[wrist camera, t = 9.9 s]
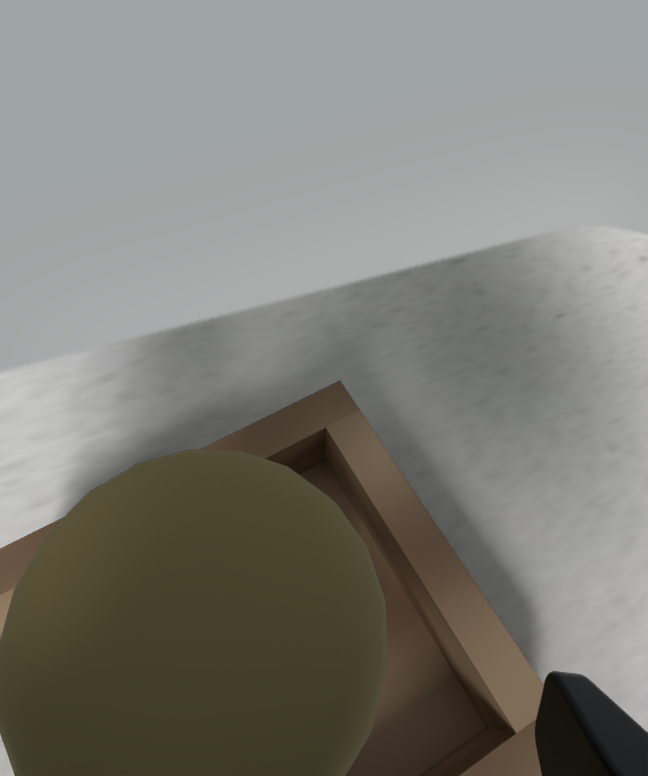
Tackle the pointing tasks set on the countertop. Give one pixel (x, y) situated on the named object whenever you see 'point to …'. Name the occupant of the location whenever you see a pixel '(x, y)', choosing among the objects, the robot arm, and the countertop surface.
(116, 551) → the cork
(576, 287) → the countertop surface
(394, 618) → the tray
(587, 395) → the countertop surface
